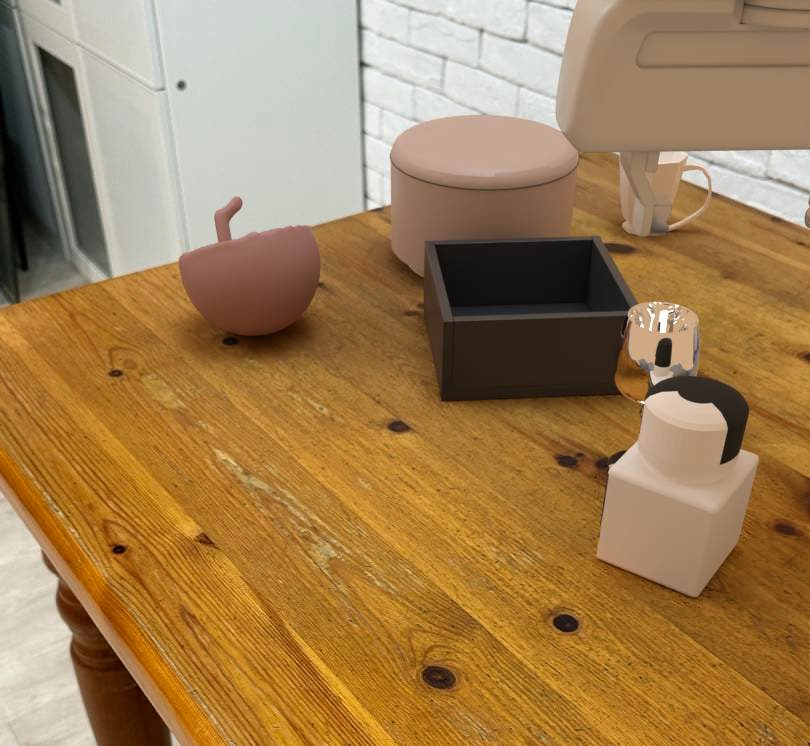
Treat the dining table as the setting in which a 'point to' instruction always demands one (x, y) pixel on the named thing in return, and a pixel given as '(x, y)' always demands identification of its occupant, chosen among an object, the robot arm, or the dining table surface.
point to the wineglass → (654, 350)
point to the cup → (661, 186)
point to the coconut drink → (252, 276)
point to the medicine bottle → (680, 486)
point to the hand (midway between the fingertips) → (736, 230)
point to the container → (479, 182)
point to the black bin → (523, 316)
